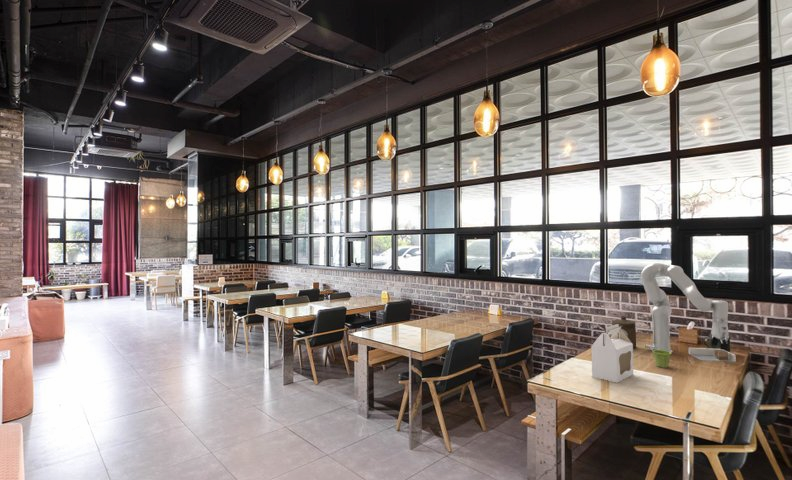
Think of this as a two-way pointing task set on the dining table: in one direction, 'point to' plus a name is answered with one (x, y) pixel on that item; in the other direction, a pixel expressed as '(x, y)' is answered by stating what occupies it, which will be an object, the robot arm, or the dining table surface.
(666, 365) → the plant pot
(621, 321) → the wooden container
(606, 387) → the dining table surface
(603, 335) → the gable box
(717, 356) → the walnut block
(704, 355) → the arena
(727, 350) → the mug
